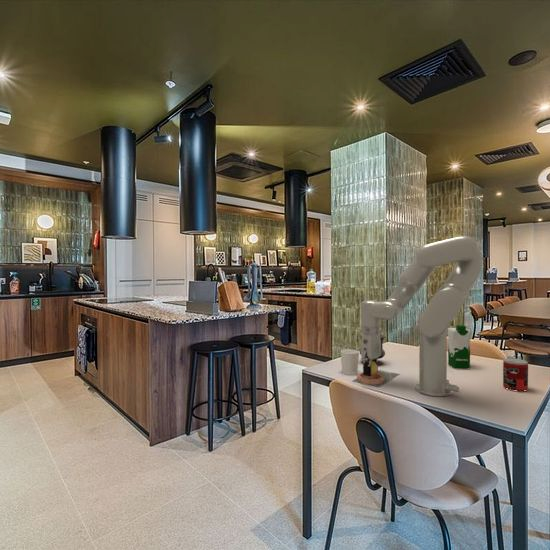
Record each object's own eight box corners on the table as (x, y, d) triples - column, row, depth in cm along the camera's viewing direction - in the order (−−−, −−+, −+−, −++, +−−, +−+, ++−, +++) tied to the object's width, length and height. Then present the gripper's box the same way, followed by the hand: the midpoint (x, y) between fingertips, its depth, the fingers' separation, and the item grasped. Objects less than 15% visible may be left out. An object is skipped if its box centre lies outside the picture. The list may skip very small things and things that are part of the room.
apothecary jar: (390, 364, 170) (390, 327, 169) (374, 368, 163) (374, 330, 162) (370, 359, 180) (370, 324, 179) (354, 363, 173) (354, 327, 172)
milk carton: (453, 369, 161) (453, 326, 161) (445, 364, 170) (445, 323, 170) (472, 369, 161) (473, 326, 160) (464, 364, 170) (464, 323, 169)
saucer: (387, 380, 145) (387, 375, 145) (376, 386, 137) (376, 381, 137) (364, 375, 151) (364, 370, 151) (353, 381, 144) (353, 376, 144)
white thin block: (391, 379, 146) (391, 372, 146) (390, 380, 145) (390, 373, 145) (364, 374, 153) (364, 367, 153) (363, 374, 153) (363, 368, 153)
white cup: (359, 376, 151) (359, 353, 151) (340, 375, 153) (340, 353, 153) (358, 371, 159) (358, 349, 159) (340, 370, 161) (340, 349, 160)
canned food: (498, 385, 139) (499, 358, 139) (519, 385, 139) (519, 358, 139) (511, 392, 132) (511, 363, 132) (532, 392, 132) (533, 363, 131)
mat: (399, 374, 153) (399, 374, 153) (379, 388, 137) (379, 387, 137) (374, 369, 161) (374, 369, 161) (351, 382, 144) (351, 381, 144)
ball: (380, 374, 145) (380, 360, 144) (374, 378, 140) (374, 363, 140) (366, 372, 148) (366, 358, 148) (360, 375, 144) (360, 361, 144)
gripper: (370, 334, 135) (370, 380, 135) (387, 328, 148) (387, 370, 148) (352, 332, 140) (352, 376, 140) (370, 326, 153) (371, 367, 153)
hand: (370, 373), depth 144 cm, fingers closed on ball, 5 cm apart
